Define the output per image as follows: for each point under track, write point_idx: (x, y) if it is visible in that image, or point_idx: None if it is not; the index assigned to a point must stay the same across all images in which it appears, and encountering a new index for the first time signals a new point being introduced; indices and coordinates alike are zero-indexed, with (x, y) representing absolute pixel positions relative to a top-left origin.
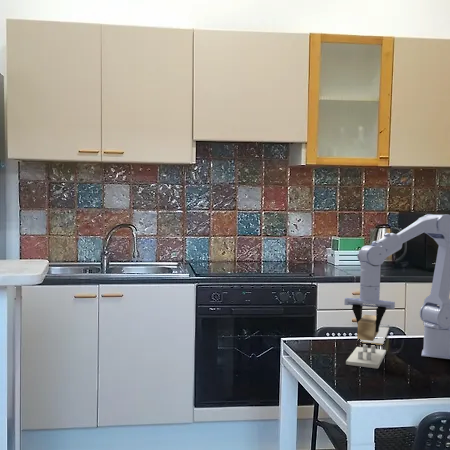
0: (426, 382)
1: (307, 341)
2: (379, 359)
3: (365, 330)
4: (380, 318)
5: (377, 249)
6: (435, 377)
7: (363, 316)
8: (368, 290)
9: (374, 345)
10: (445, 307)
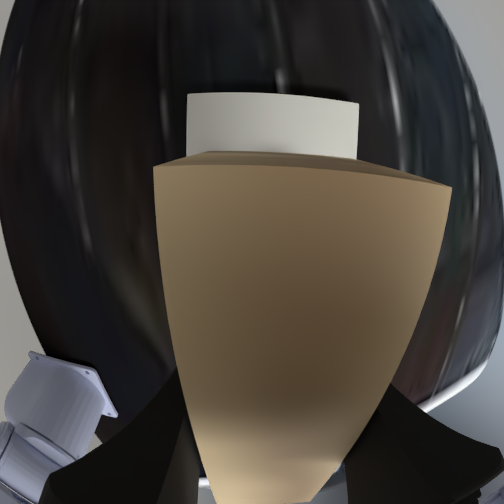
0: (33, 36)
1: (446, 380)
2: None
3: (294, 158)
4: (125, 433)
5: None
6: (8, 114)
7: (323, 481)
8: None
9: None
10: None
